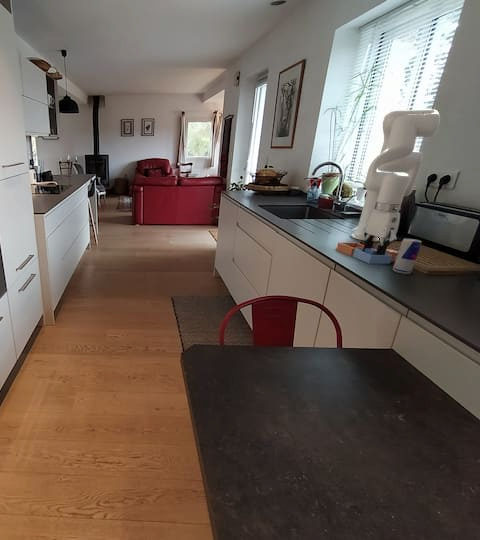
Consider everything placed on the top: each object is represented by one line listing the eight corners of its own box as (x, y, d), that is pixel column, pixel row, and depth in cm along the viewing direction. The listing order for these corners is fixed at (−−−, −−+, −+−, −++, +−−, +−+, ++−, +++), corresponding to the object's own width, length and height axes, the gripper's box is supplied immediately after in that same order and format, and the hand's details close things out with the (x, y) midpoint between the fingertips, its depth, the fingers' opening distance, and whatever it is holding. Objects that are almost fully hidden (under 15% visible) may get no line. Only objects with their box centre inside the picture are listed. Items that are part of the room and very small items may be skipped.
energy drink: (411, 275, 116) (423, 243, 112) (392, 271, 119) (403, 240, 115) (410, 271, 120) (421, 240, 116) (392, 268, 123) (402, 237, 119)
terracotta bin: (336, 249, 145) (338, 242, 144) (355, 249, 146) (357, 242, 144) (350, 255, 137) (352, 248, 136) (370, 255, 137) (372, 248, 136)
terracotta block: (378, 258, 134) (381, 249, 133) (388, 258, 134) (391, 249, 133) (386, 261, 130) (390, 252, 129) (396, 261, 131) (399, 252, 129)
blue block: (362, 257, 134) (365, 248, 132) (371, 257, 134) (374, 248, 132) (370, 260, 130) (373, 251, 128) (379, 260, 130) (382, 251, 129)
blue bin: (352, 256, 136) (354, 248, 135) (372, 256, 136) (374, 248, 135) (368, 263, 127) (371, 255, 126) (390, 263, 128) (392, 255, 127)
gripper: (416, 212, 117) (400, 259, 123) (378, 204, 133) (365, 246, 139) (397, 211, 116) (381, 259, 122) (360, 204, 132) (349, 246, 139)
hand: (373, 252), depth 131 cm, fingers open, 6 cm apart
